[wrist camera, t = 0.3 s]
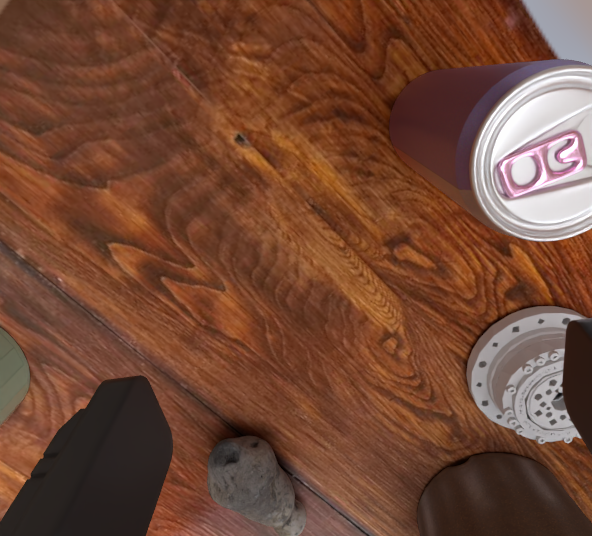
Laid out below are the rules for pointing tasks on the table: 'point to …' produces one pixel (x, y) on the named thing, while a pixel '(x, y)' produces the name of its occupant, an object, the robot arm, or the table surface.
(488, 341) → the mechanical component
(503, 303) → the table surface
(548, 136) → the beverage can
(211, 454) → the stone
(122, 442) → the robot arm
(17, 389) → the holder
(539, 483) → the plant pot
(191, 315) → the table surface
